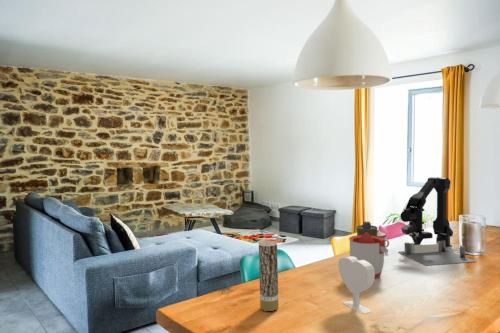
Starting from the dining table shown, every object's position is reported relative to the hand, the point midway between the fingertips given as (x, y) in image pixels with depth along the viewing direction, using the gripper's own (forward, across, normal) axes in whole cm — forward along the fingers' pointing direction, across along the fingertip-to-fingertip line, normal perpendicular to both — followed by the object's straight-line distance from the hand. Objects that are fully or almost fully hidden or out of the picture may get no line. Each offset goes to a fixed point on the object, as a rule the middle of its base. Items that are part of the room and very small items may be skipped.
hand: (416, 248), depth 220 cm
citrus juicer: (+3, +26, -44) cm, 52 cm away
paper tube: (+3, +49, -98) cm, 110 cm away
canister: (+3, +4, -33) cm, 33 cm away
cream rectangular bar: (+2, +3, +3) cm, 5 cm away
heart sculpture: (+3, +57, -67) cm, 88 cm away
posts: (+3, +9, +4) cm, 11 cm away
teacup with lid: (+3, -10, -16) cm, 20 cm away
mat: (+2, +10, +4) cm, 11 cm away
